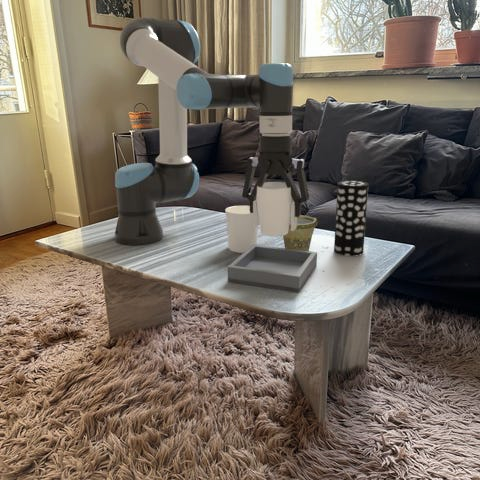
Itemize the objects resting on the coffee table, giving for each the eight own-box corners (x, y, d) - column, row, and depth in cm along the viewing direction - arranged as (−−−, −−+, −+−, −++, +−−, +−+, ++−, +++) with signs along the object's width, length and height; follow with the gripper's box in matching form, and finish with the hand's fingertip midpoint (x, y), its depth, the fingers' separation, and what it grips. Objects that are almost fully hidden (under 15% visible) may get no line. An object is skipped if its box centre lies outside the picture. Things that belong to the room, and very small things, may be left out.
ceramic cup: (297, 261, 125) (298, 226, 122) (272, 252, 132) (272, 218, 129) (328, 251, 133) (330, 218, 130) (303, 243, 140) (304, 211, 137)
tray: (227, 281, 112) (227, 266, 111) (253, 258, 128) (253, 244, 126) (299, 292, 105) (299, 276, 104) (316, 266, 121) (317, 252, 120)
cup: (294, 238, 109) (295, 188, 105) (256, 238, 109) (256, 189, 105) (291, 227, 117) (292, 181, 114) (256, 228, 117) (256, 181, 114)
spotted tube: (335, 245, 137) (339, 180, 131) (364, 248, 135) (369, 181, 129) (332, 254, 130) (336, 185, 124) (362, 257, 127) (367, 186, 121)
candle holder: (223, 253, 132) (222, 213, 128) (229, 242, 141) (228, 205, 138) (257, 254, 131) (257, 214, 127) (260, 243, 140) (260, 205, 136)
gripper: (226, 134, 106) (228, 227, 113) (318, 136, 99) (314, 236, 105) (238, 132, 113) (239, 220, 120) (325, 134, 105) (321, 227, 112)
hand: (274, 227), depth 113 cm, fingers closed on cup, 9 cm apart
